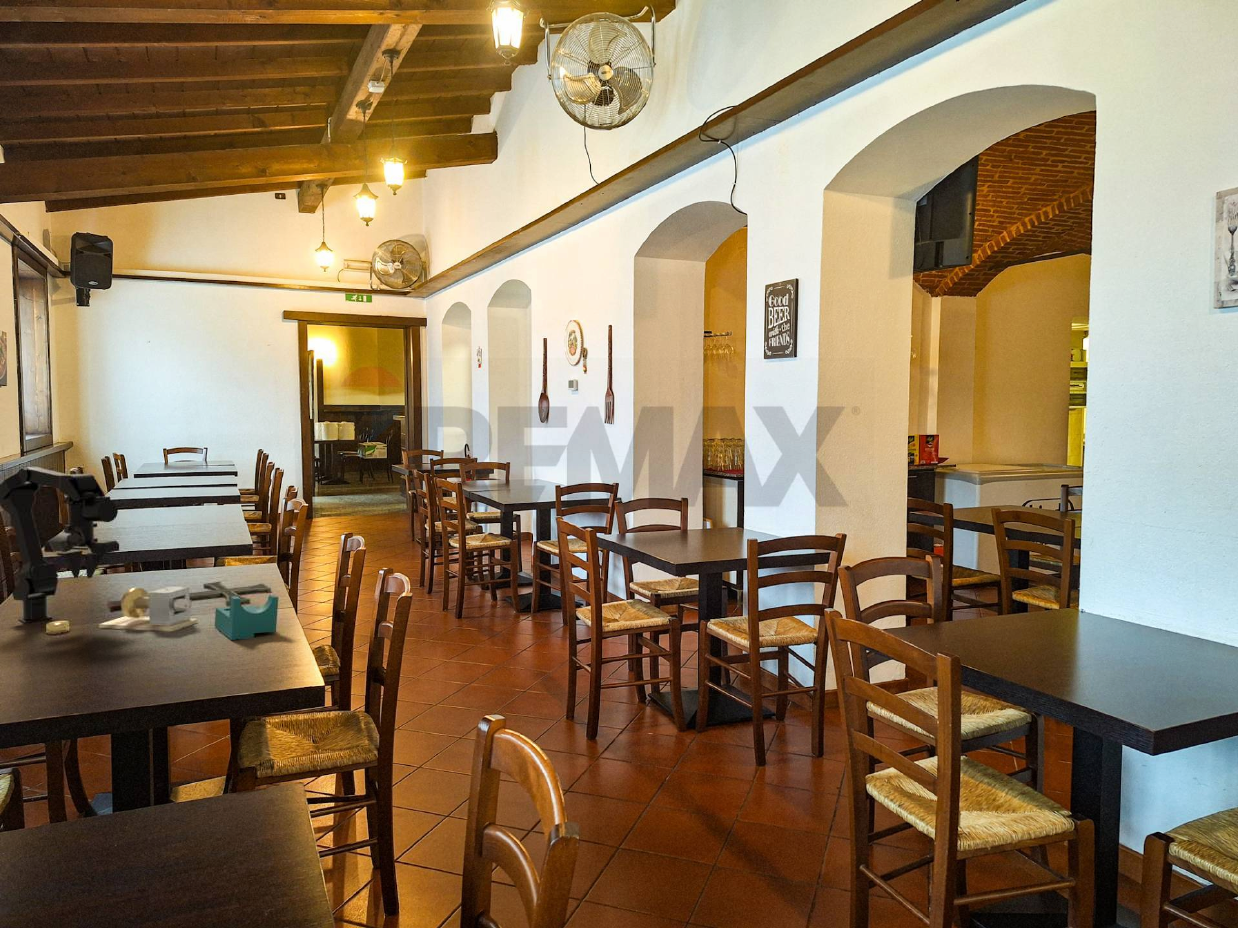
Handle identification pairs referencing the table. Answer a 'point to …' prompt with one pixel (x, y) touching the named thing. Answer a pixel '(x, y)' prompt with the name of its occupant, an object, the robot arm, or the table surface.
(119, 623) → the board
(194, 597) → the cross
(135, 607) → the shaft
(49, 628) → the spacer
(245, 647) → the table surface
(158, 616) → the bearing block
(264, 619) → the teal saddle bracket
